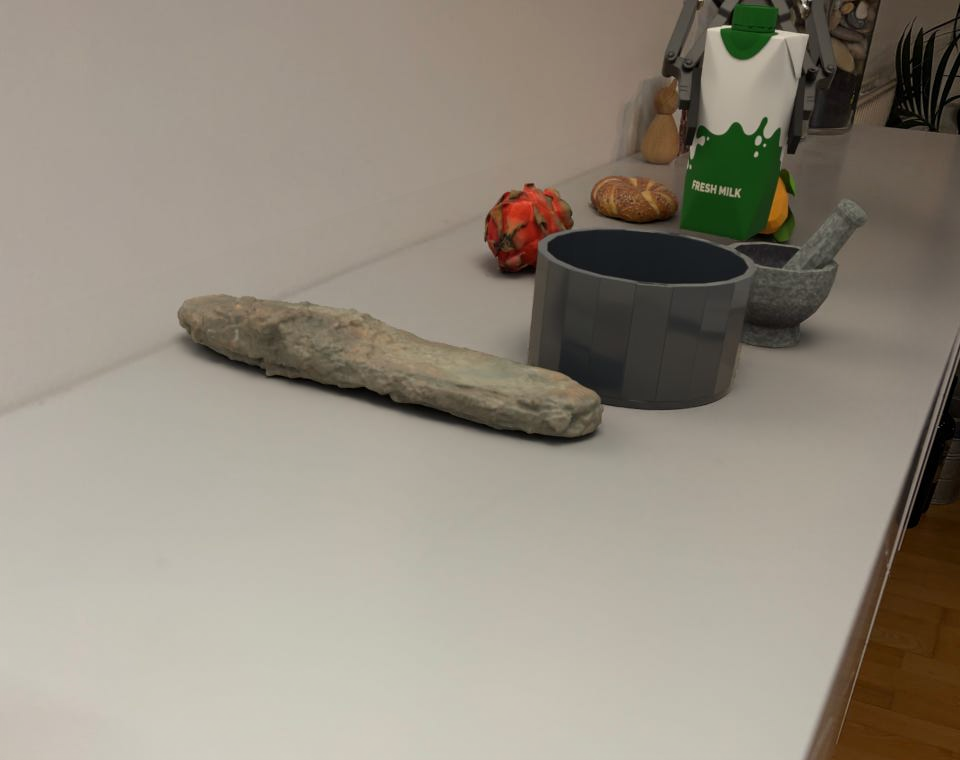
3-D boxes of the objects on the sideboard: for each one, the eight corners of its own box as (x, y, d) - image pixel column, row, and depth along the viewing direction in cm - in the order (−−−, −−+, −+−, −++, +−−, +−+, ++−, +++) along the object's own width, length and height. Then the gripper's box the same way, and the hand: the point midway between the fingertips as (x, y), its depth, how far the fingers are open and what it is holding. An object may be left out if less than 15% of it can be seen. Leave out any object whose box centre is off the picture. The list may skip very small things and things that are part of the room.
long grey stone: (563, 481, 72) (614, 438, 79) (578, 405, 69) (629, 368, 77) (143, 343, 82) (225, 318, 90) (141, 273, 79) (226, 253, 87)
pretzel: (676, 229, 128) (681, 195, 126) (584, 219, 129) (588, 186, 127) (677, 207, 138) (682, 176, 136) (592, 198, 139) (595, 167, 137)
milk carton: (667, 229, 110) (702, 1, 99) (699, 214, 117) (735, 0, 106) (750, 245, 107) (795, 11, 96) (778, 229, 113) (823, 9, 102)
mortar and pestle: (704, 344, 93) (731, 197, 86) (709, 313, 101) (735, 176, 94) (837, 362, 91) (876, 214, 85) (832, 329, 99) (867, 191, 92)
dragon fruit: (557, 271, 115) (505, 315, 107) (500, 212, 114) (443, 252, 106) (605, 214, 109) (554, 256, 101) (545, 151, 108) (489, 188, 100)
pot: (748, 358, 91) (771, 248, 86) (710, 425, 78) (735, 300, 73) (563, 324, 95) (574, 217, 90) (498, 382, 82) (507, 261, 77)
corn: (794, 152, 132) (815, 184, 116) (785, 217, 136) (803, 258, 120) (733, 151, 133) (744, 182, 116) (725, 216, 137) (735, 255, 121)
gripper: (856, -19, 112) (845, 174, 107) (644, -35, 113) (624, 156, 108) (880, -81, 104) (869, 124, 100) (653, -97, 106) (632, 104, 101)
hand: (742, 140), depth 104 cm, fingers closed on milk carton, 9 cm apart
